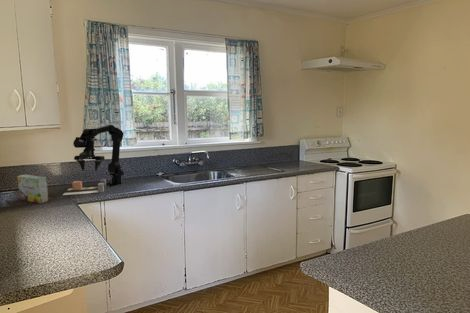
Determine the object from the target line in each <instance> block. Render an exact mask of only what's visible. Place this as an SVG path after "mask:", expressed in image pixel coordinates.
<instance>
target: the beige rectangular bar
mask: <svg viewBox="0 0 470 313" xmlns="http://www.w3.org/2000/svg"><path fill="white" fill-rule="evenodd" d="M99 183H104V189H106V187H107V179H105V178H103V179H100V182H99ZM94 189H95V190H96V189H97V190H98V186H89V187H82V189H81V190H80V191H82V190H94ZM68 191H74V190H73V188H68V189H67V192H68Z"/></svg>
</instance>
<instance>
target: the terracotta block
mask: <svg viewBox="0 0 470 313" xmlns="http://www.w3.org/2000/svg"><path fill="white" fill-rule="evenodd" d="M71 185H72V189H73V190H72V191H82V190H81V189H82V188H83V181H82V180H75V181H74V180H73V181H72V184H71Z"/></svg>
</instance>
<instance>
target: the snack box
mask: <svg viewBox="0 0 470 313" xmlns="http://www.w3.org/2000/svg"><path fill="white" fill-rule="evenodd" d="M16 177H17V185H18V186H17V187H18V193H19V199H20V200H21V201H26V202H32V203H37V204H45V203H47V202H48V203H49V201H50V200H49V193H48V192H49V191H48V183H47V182H48V181H47V177H46V176H39V175H32V174H21V175H17V176H16Z"/></svg>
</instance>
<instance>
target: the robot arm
mask: <svg viewBox="0 0 470 313" xmlns="http://www.w3.org/2000/svg"><path fill="white" fill-rule="evenodd" d="M106 132H108V134H109V135H110V138H111V140H112V151H111V152H112V153H111V161H110V163H108V164H107V170H108V173H109V175H110V176H112V177H111V184H112V185H122V184H123V179H122V177H123V176H124V174H125V173H124V171H123V170H122V169H121V168H122V167H121V164H120V149H121V142H122V140H123V138H124V131H123V130H122V129H120V128H118V127H116V126H115V125H114V124H106V125H102V126H99V127H95V128H84V129H83V131H82V133H81V135H80V136H76V137H75V139H74V140H73V144H72V145H73V147H74V148H76V149H77V148H81V149H82V148H83V151H82V152H80V153H79V155H75V156H74V157H73V158H74V159H73V160H74V161H76V162H78V163H79V165H80V168H81V170H82V171H85V167H86V166H85V162H86V160H94V161H93V162H94V165H95V166H94V171H95V172H97V171H98V169H99V166H100V165H101V163H102V162H103V161H105V158H106V157H105V156H104V155H96V154H95V151H96V149H95V142H97V138H95V137H96V136H98V135H99V134H102V133H106Z"/></svg>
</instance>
